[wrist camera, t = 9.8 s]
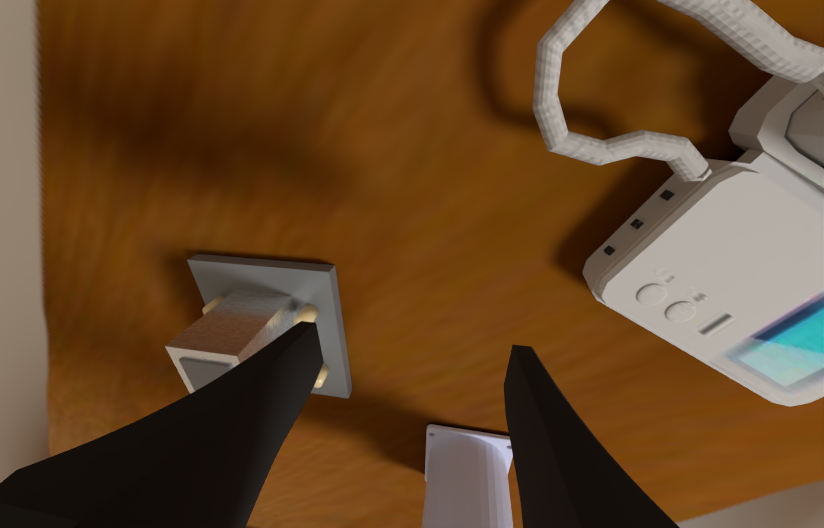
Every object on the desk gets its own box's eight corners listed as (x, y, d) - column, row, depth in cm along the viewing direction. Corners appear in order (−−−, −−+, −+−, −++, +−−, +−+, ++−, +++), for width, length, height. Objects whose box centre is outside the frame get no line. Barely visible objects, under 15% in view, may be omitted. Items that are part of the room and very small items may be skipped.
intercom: (692, -201, 8) (1263, 271, 10) (617, -100, 11) (1047, 225, 14) (432, 219, 14) (820, 444, 16) (440, 195, 18) (754, 380, 20)
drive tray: (352, 389, 27) (342, 413, 25) (243, 373, 29) (225, 395, 27) (334, 265, 21) (319, 283, 19) (197, 253, 23) (169, 269, 20)
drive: (309, 372, 26) (268, 443, 20) (261, 365, 26) (208, 432, 21) (292, 295, 22) (235, 358, 16) (235, 289, 22) (162, 348, 17)
